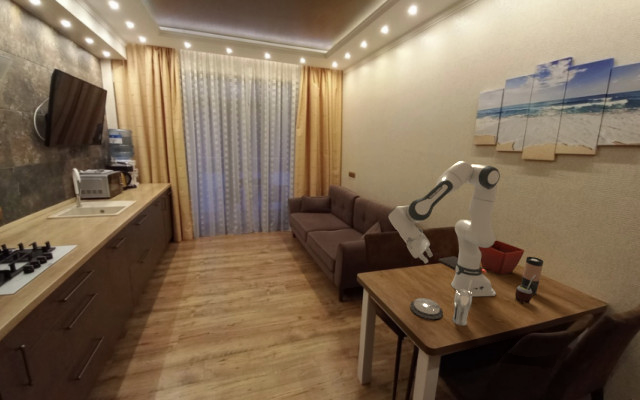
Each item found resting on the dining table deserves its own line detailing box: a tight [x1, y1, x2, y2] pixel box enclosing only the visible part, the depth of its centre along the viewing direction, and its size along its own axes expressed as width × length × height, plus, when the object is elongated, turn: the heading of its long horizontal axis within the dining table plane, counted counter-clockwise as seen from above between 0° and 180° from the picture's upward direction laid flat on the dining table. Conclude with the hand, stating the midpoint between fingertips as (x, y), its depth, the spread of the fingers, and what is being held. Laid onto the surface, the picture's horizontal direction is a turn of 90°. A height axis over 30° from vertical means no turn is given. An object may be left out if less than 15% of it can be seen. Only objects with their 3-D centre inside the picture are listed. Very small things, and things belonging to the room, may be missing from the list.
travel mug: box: [520, 256, 544, 296], centre depth 153 cm, size 8×8×20 cm
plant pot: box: [478, 239, 525, 276], centre depth 181 cm, size 19×19×17 cm
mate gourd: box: [514, 275, 536, 305], centre depth 143 cm, size 8×8×15 cm
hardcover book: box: [437, 255, 458, 271], centre depth 185 cm, size 16×23×2 cm
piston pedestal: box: [409, 297, 444, 321], centre depth 132 cm, size 15×15×3 cm
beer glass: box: [451, 289, 473, 327], centre depth 123 cm, size 7×7×15 cm
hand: (429, 259), depth 132 cm, fingers open, 8 cm apart
